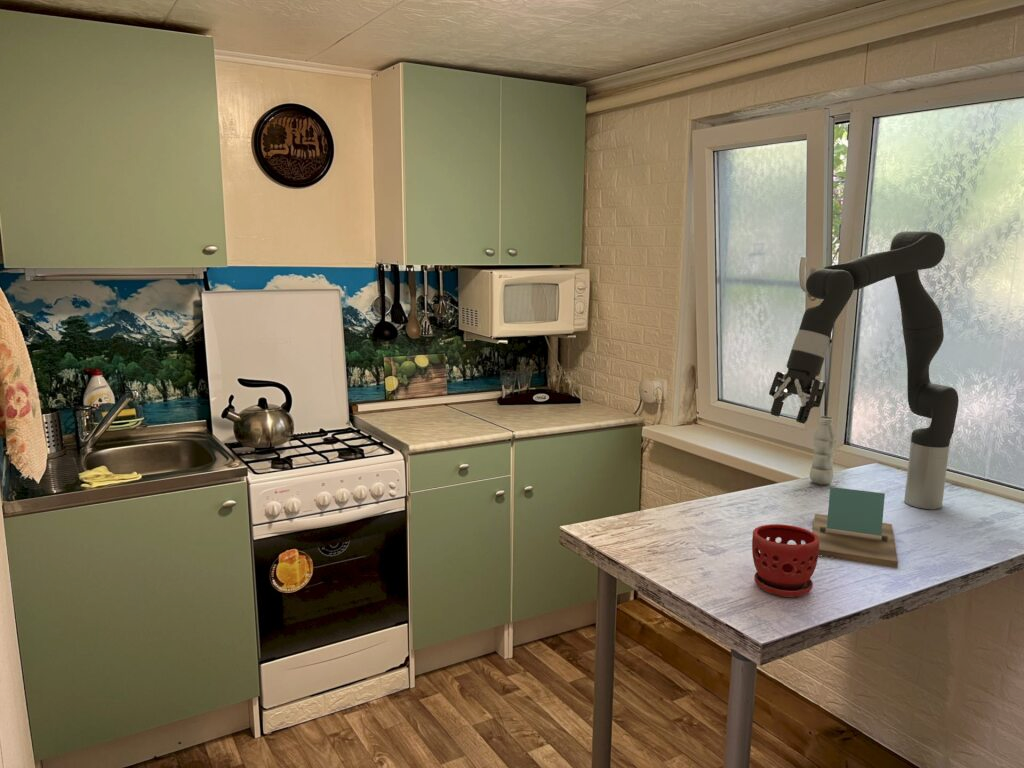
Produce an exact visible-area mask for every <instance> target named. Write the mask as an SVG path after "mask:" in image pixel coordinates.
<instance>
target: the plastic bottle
mask: <svg viewBox="0 0 1024 768" xmlns="http://www.w3.org/2000/svg"><path fill="white" fill-rule="evenodd" d="M818 423H819V425H818V426H817V428H815V430H814V432H813V433H812V434H813V435H812V436H813V437H812V438H813V457H812V463H811V468H810V470H809V479H810V481H811V482H812V483H814V484H817V485H825V486H827V485H830V484H831V483H832V482H833V480H834V479H833V478H834V468H833V467H834V465H833V464H834V463H833V461H834V459H833V458H834V450H835V446H836V441H837V438H838V437H837V432H836V430H835V429H834V427H833V425H834V417H832V416H828V415H821V416H819V421H818Z"/></svg>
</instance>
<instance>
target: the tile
mask: <svg viewBox="0 0 1024 768" xmlns="http://www.w3.org/2000/svg"><path fill="white" fill-rule="evenodd" d="M885 496H886V493H885V492H878V491H877V492H876V491H868V490H862V489H861V490H860V489H851V488H845V487H835V486H829V498H828V509H827V515H828V518H827V528H829V529H836V530H843V531H850V532H857V533H864V534H872V535H879V536H881V534H882V523H884V521H883V519H884V509H885V507H884V506H885V498H886V497H885Z"/></svg>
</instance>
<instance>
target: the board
mask: <svg viewBox="0 0 1024 768" xmlns="http://www.w3.org/2000/svg"><path fill="white" fill-rule="evenodd" d="M827 518H828V514H827V515H826V514H819V513H814V519H813V527H812V528H813V529H812V532H813V533H814V534H816V535H817V536H818V538H819V553H818V555H822V556H821V557H824V556H827V557H826V558H830V557H833V559H837V558H839V559H838V560H843V559H845V560H844V561H849V562H850V561H851V562H857V563H863V564H870V565H875V566H876V565H878V566H884V567H889V568H890V567H891V568H896V569H898V565H899V560H898V554H897V547H896V539H895V536H894V535H895V534H894V529H893V524H892V523H889V522H888V523H887V522H882V534H881V536H879V535H872V534H864V533H857V532H850V531H843V530H836V529H829V528H827Z"/></svg>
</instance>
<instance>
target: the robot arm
mask: <svg viewBox="0 0 1024 768" xmlns="http://www.w3.org/2000/svg"><path fill="white" fill-rule="evenodd" d="M945 252H946V243H945V240H944V238H943V236H941V235H940V234H939V233H937V232H933V231H924V230H923V231H920V230H918V231H915V230H914V231H913V230H912V231H908V230H907V231H900V232H897V233H896V234H895V235H894V236H893V238H892V239H891V243H890V246H889V250H887V251H885V250H884V251H879V252H874V253H869V254H866V255H862V256H859V257H857V258H854V259H852V260H849V261H847V262H843V263H837V264H832V265H828V266H827V265H826V266H823V267H819V268H817V269H815V270H814V271H812V272H811V273H810V274H809V275H808V277H807V279H806V282H805V289H806V292H807V293H808V295H809V296H811V297H812V298H815V299H817V300H822V301H821V302H820V304H818V305H817V306H811V307H808V308H806V309H805V311H804V313H803V316H802V318H801V323H800V325H799V329H798V331H797V334H796V336H795V338H794V341H793V342H792V343H793V344H792V346H791V350H790V352H789V353H790V354H789V356H788V360H787V362H786V368H787V372H786V373H785V372H782V371H777V372H776V373H775V376H774V379H773V380H772V383H771V386H770V389H769V391H768V392H769V393H768V394H769V396H772V397H773V402H772V406H771V409H770V415H771V416H775V417H780V416H781V412H782V409H783V407H784V404H785V402H784V401H785V400H786V399H787V398H788V397H790V396H792V395H797V397H798V398H799V399H800V403H801V406H799V409H798V414H797V417H796V422H797V423H799V424H803V425H805V424H806V422H808V419H809V416H810V413H811V409H813V408H819V407H820V406H821V404H822V399H823V395H824V391H825V388H826V385H827V384H826V381H822V380H819V379H816V377H818V376H820V373H821V372H822V368H823V365H824V361H825V358H826V356H827V352H828V348H829V343H830V338H831V335H832V332H833V329H834V325H835V322H836V321H837V319H838V318H839V316H840V314H841V313H842V311H844V308H845V307H846V305H847V304H848V302H849V300H850V298H851V297H852V295H853V293H854V291H856V290H861V289H863V288H866V287H868V286H870V285H873V284H876V283H878V282H881V281H884V280H886V279H889V278H894V280H895V284H896V289H897V294H898V300H899V305H900V306H899V307H900V314H901V325H902V326H901V327H902V335H903V339H904V340H903V341H904V346H905V347H904V348H905V356H906V368H907V369H906V371H907V375H906V377H907V383H906V384H907V387H906V389H907V390H906V391H907V404H908V408H909V410H910V411H911V413H913V414H914V415H916V416H918V417H924V418H928V419H931V420H930V424H929V427H924V428H916V429H914V430H912V432H911V436H910V446H909V454H908V455H909V456H908V464H907V473H906V483H905V491H904V498H903V502H904V503H905V504H907V505H908V506H912V507H915V508H918V509H924V510H938V509H941V508H942V507H943V501H944V493H945V484H946V476H947V471H948V470H947V468H948V460H949V453H950V443H951V439H952V437H953V434H954V432H955V431H954V430H955V426H956V419H957V414H958V409H959V401H960V400H959V395H958V392H957V389H955V388H953V387H951V386H947V385H943V384H942V385H941V384H937V383H932V381H931V379H930V365H931V362H932V360H933V359H934V357H935V356H936V354H937V353H938V351H939V350H940V348H941V347H942V344H943V341H944V338H945V337H944V335H945V334H944V333H945V332H944V325H943V323H944V322H943V316H942V313H941V310H940V308H939V307H938V305H937V304H936V302H935V300H933V297H931V295H930V294H929V292H928V291H927V289H926V288H925V287H924V285H923V283H922V281H921V279H920V278H921V277H920V275H919V271H922V270H929V269H933V268H934V267H937V266H938V265H940V263H941V262H942V260H943V258H944V256H945Z"/></svg>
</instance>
